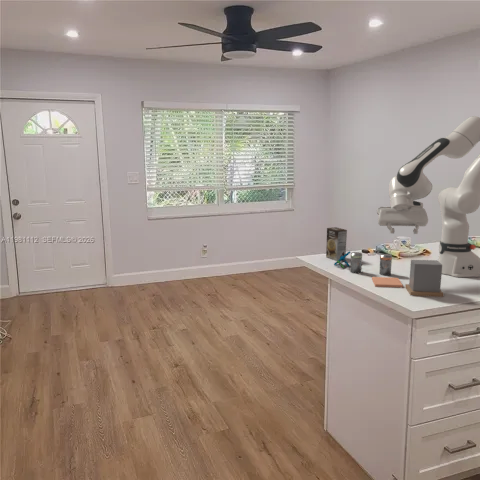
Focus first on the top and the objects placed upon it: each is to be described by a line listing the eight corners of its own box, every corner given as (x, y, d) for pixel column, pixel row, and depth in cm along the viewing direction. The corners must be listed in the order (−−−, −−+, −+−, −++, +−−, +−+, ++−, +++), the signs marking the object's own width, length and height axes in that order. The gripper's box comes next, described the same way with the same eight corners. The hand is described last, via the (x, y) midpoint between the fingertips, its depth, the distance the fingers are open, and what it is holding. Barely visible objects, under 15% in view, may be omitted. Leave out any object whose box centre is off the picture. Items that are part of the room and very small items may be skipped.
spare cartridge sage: (360, 270, 203) (361, 252, 201) (361, 273, 198) (362, 254, 196) (349, 270, 203) (350, 251, 202) (350, 273, 198) (351, 254, 197)
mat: (397, 280, 187) (397, 277, 187) (402, 287, 176) (402, 285, 176) (371, 279, 189) (371, 276, 189) (375, 286, 178) (375, 284, 178)
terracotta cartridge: (390, 272, 198) (391, 254, 197) (391, 275, 193) (393, 256, 192) (378, 272, 199) (379, 253, 198) (380, 275, 194) (381, 256, 192)
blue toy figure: (338, 259, 219) (351, 247, 212) (346, 267, 217) (359, 256, 211) (329, 266, 211) (341, 254, 204) (337, 275, 209) (350, 264, 203)
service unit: (436, 288, 174) (438, 259, 172) (443, 296, 164) (445, 265, 162) (405, 287, 176) (407, 258, 174) (410, 295, 167) (412, 264, 164)
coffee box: (325, 257, 230) (326, 227, 226) (334, 255, 232) (335, 226, 229) (336, 260, 222) (337, 230, 218) (346, 259, 224) (347, 229, 221)
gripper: (377, 202, 188) (379, 228, 180) (426, 202, 184) (430, 229, 177) (375, 211, 193) (377, 236, 185) (423, 211, 189) (427, 237, 182)
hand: (404, 232), depth 181 cm, fingers open, 8 cm apart
